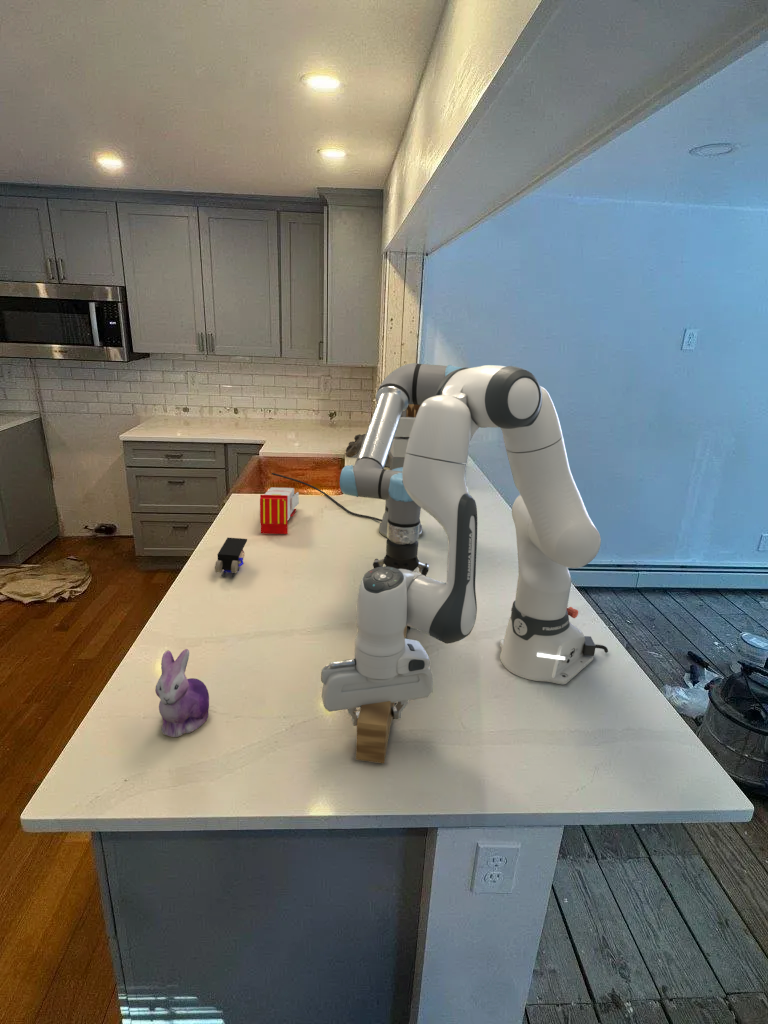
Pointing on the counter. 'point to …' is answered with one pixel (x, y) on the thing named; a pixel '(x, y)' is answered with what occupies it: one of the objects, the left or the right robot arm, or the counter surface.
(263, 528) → the toy
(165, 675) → the figurine
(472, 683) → the counter surface
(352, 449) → the fossil
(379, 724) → the bar
